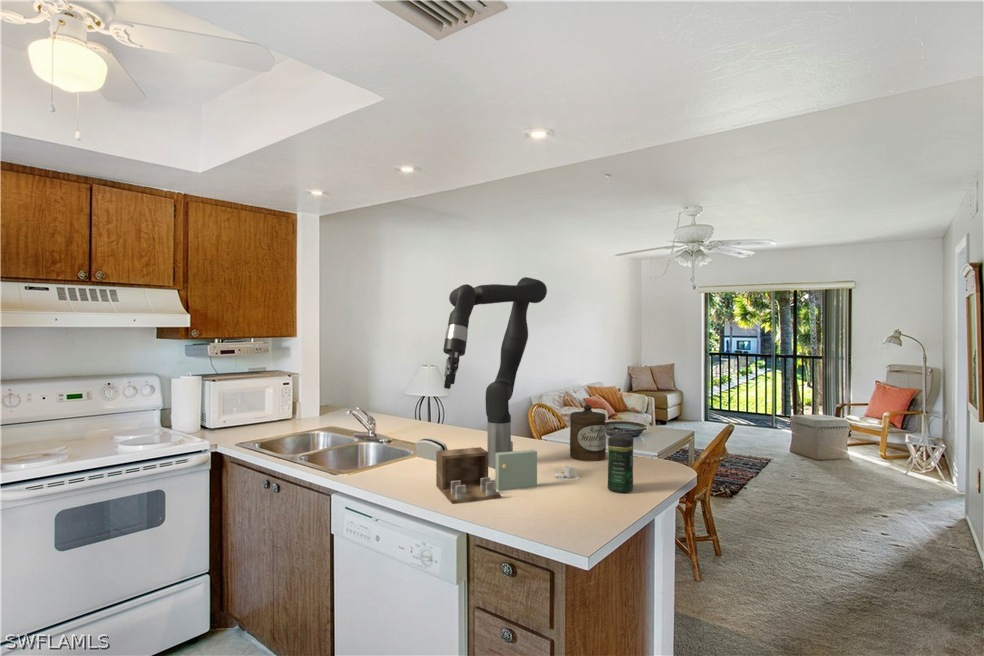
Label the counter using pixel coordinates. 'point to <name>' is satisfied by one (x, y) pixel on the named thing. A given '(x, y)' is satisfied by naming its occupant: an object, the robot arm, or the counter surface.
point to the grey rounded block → (429, 448)
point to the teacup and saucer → (567, 473)
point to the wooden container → (587, 435)
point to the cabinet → (464, 475)
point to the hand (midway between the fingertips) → (448, 386)
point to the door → (516, 470)
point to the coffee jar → (620, 462)
